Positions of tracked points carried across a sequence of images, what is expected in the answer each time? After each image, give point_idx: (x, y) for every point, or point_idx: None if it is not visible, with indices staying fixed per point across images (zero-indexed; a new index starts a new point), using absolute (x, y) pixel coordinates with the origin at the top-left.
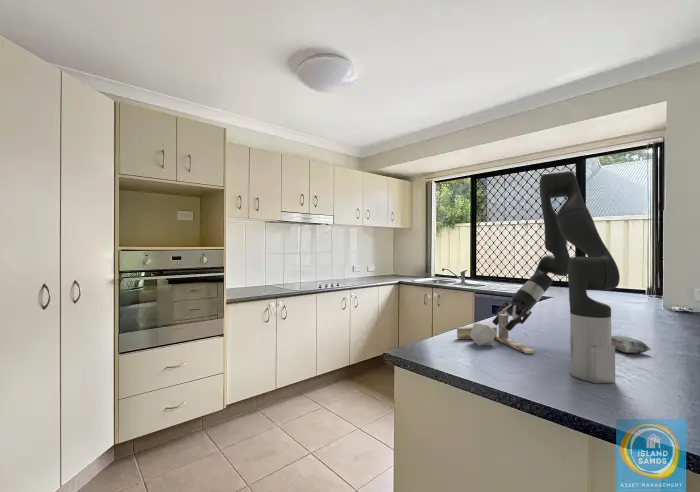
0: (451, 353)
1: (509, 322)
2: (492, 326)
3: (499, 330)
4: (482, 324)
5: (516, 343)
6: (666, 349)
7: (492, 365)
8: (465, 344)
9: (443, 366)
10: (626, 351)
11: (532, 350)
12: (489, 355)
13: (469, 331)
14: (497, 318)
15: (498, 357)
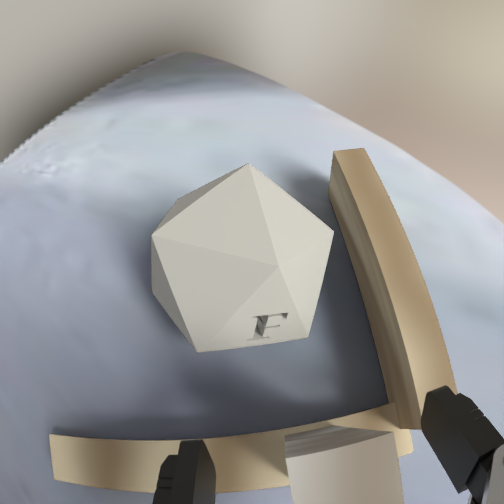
0: (133, 144)
1: (182, 488)
2: None
3: (330, 429)
4: (193, 206)
5: None
6: None
7: (12, 236)
8: None
9: (58, 129)
10: None
11: (53, 469)
12: (77, 260)
13: (354, 218)
14: (455, 436)
15: (51, 286)
